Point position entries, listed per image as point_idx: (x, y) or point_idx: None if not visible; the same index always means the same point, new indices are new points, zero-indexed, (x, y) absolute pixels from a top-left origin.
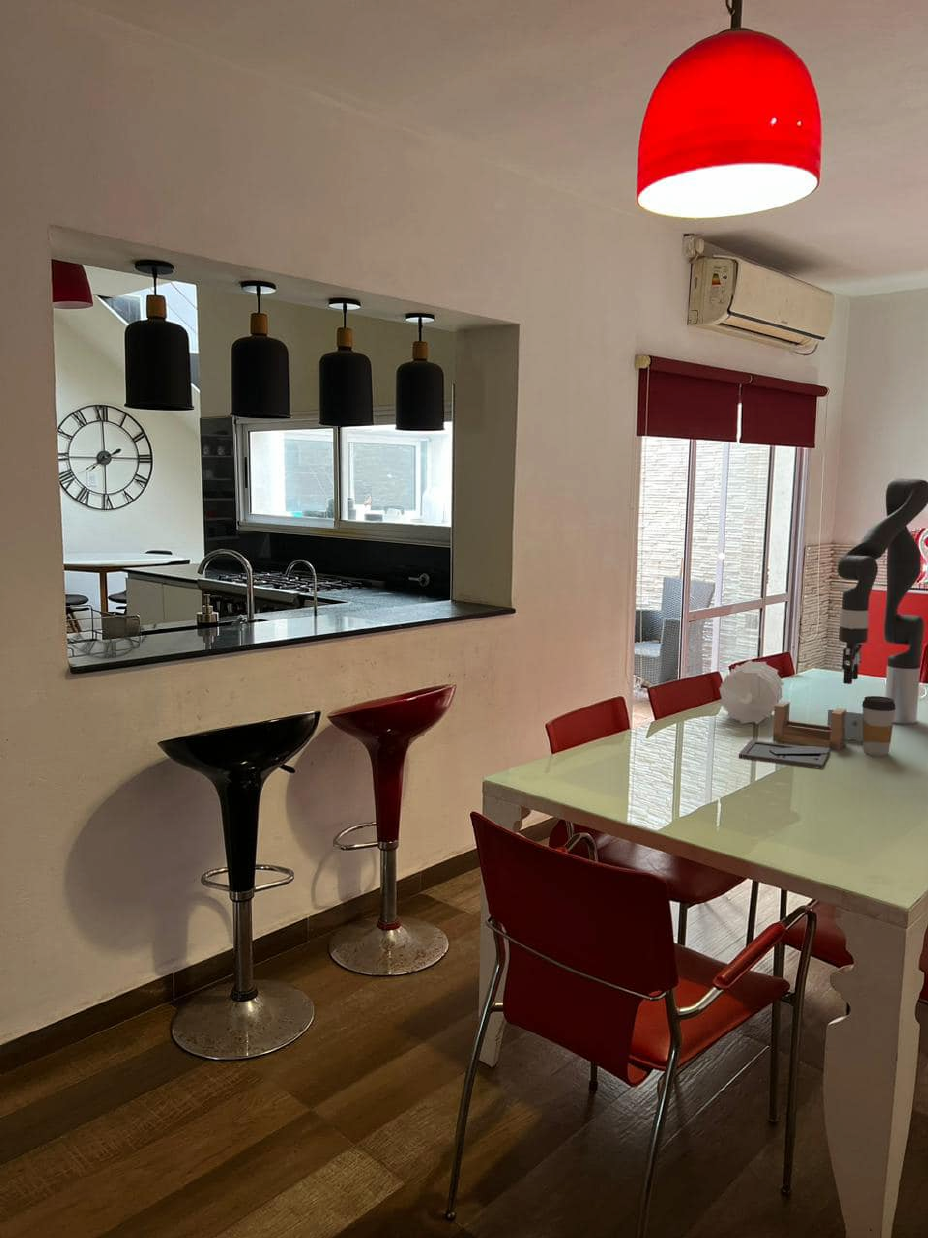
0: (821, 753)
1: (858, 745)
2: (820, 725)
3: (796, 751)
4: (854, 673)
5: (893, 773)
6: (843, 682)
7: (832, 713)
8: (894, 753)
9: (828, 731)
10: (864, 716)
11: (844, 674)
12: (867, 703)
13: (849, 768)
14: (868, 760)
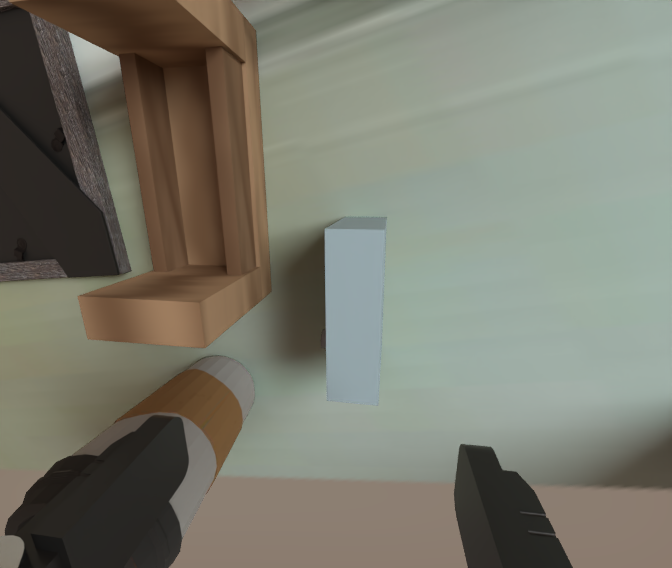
0: (57, 260)
1: (277, 333)
2: (227, 213)
3: (21, 185)
4: (470, 543)
5: (75, 428)
6: (155, 415)
7: (81, 300)
8: (250, 426)
9: (153, 263)
10: (101, 433)
11: (83, 489)
12: (28, 497)
13: (37, 339)
14: (137, 373)
